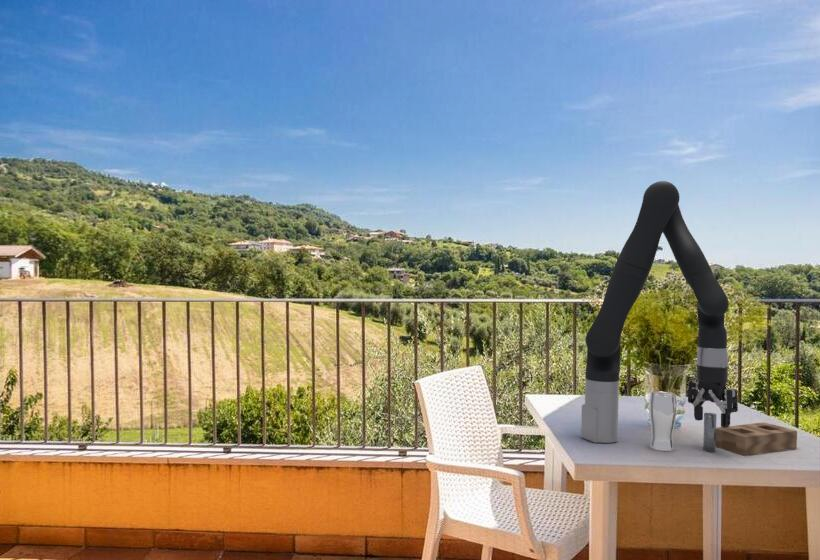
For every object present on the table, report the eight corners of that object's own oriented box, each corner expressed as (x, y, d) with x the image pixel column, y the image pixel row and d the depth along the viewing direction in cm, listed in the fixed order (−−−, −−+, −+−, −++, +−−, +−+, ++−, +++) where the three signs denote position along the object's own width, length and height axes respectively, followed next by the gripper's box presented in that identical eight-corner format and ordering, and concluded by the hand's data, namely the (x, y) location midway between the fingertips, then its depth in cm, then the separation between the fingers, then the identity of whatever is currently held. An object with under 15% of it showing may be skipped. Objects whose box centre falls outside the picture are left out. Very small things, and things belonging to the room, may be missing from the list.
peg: (709, 452, 169) (710, 415, 169) (700, 449, 172) (701, 413, 172) (717, 451, 170) (719, 414, 170) (708, 448, 173) (709, 412, 173)
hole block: (745, 455, 166) (745, 437, 166) (713, 445, 176) (714, 427, 176) (796, 448, 174) (797, 430, 174) (763, 439, 183) (764, 422, 183)
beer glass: (652, 443, 177) (654, 390, 177) (678, 448, 173) (680, 393, 172) (644, 448, 172) (645, 393, 171) (670, 453, 167) (672, 397, 167)
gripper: (681, 361, 176) (680, 419, 176) (724, 368, 162) (723, 431, 163) (701, 359, 178) (700, 416, 179) (745, 366, 165) (744, 428, 166)
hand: (711, 423), depth 171 cm, fingers open, 8 cm apart
